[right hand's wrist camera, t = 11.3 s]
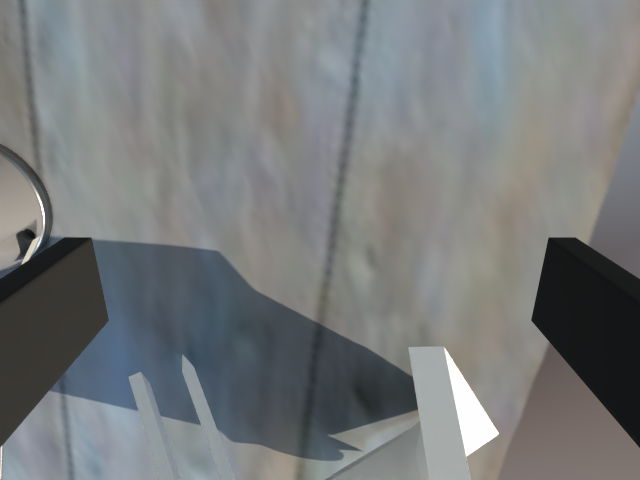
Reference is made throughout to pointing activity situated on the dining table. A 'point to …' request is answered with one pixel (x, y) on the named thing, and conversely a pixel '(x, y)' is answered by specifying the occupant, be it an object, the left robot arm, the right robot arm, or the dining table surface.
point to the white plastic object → (381, 463)
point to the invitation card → (0, 460)
